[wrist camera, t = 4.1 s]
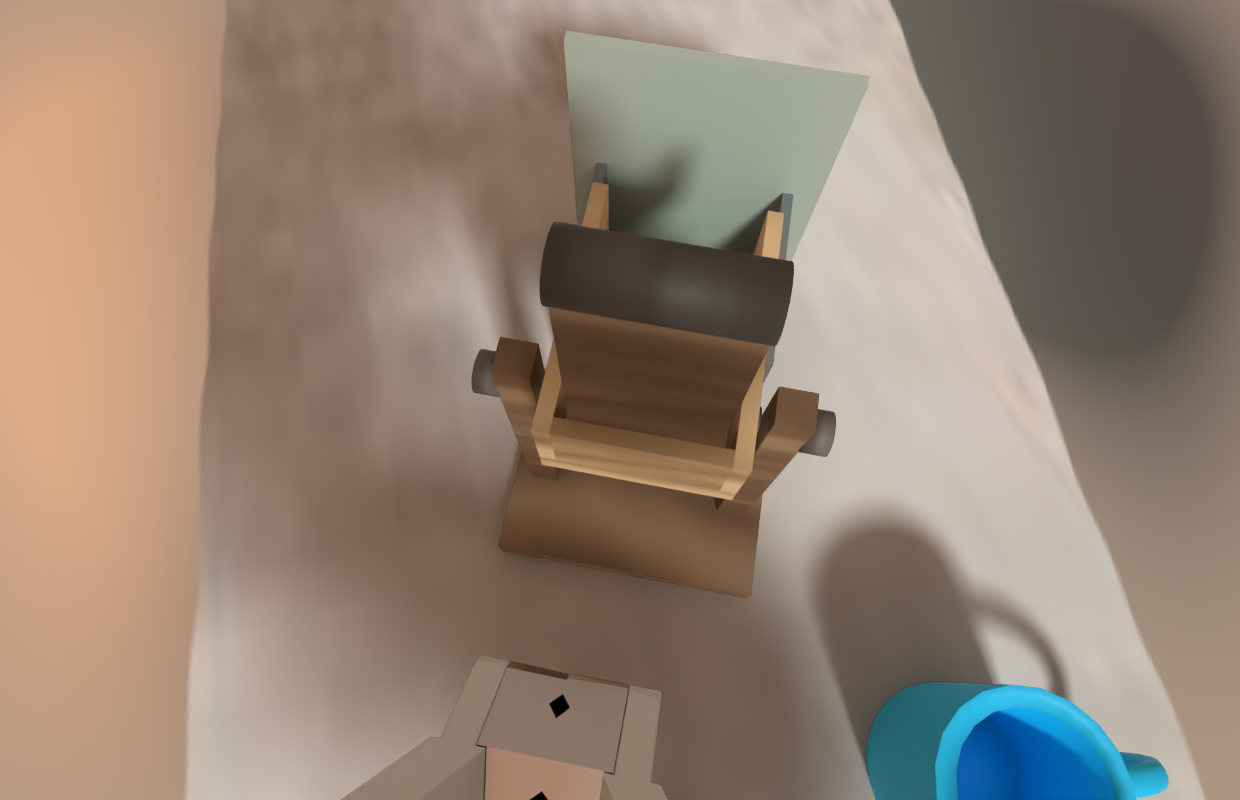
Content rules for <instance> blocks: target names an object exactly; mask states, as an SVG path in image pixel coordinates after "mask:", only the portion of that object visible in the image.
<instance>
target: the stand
mask: <svg viewBox="0 0 1240 800" xmlns="http://www.w3.org/2000/svg"><path fill="white" fill-rule="evenodd" d="M544 376H545V371H544V366H543V362H542V357H541V353H540V348H539V344H537V343H531V342H526V341H520V340H514V339H509V338H503V337H500V339H499V343H498V346H497V350H496V351H490V350H485V349H481V350H480V351H479V353H478V355H477V357H476V360H475V363H474V367H473V373H472V390H473V392H474V393H479V394H484V395H489V396H495V397H500V398H501V400H502V403H503V405H504V408H505V410H506V413H507V415H508V417H509V420H510V422H511V425H512V427H513V430H514V432H515V435H516V437H517V440H518V442H519V445H520V447H521V450H522V454H521V458H520V462H519V466H518V470H517V474H516V478H515V482H514V486H513V490H512V494H511V497H510V501H509V505H508V509H507V513H506V517H505V521H504V525H503V529H502V533H501V537H500V541H499V545H498V546H499V548H500V549H501V550H506V551H511V552H516V553H521V554H526V555H531V556H536V557H541V558H547V559H552V560H557V561H562V562H567V563H572V564H577V565H582V566H588V567H593V568H598V569H603V570H608V571H613V572H618V573H623V574H628V575H634V576H639V577H644V578H649V579H654V580H659V581H664V582H669V583H674V584H680V585H685V586H690V587H695V588H700V589H705V590H710V591H715V592H720V593H726V594H731V595H736V596H741V597H746V598H747V597H749V596H750V595H751V588H752V579H753V571H754V562H755V554H756V545H757V537H758V528H759V520H760V511H761V503H762V494H763V492H764V491H765V490H766V489H767V488H768V487H769V485H770V484H771V483H772V482H773V481H774V480H775V478H776V477H777V476H778V475H779V474H780V473H781V471H782V470H783V469H784V468H785V467H786V465H787V464H788V463H789V462H790V461H791V460H792V458H793V457H794V456H795V455H796V454H797V453H798V451H799V452H801V453H807V454H812V455H818V456H823V457H826V456H827V455H828V454H829V452H830V450H831V447H832V444H833V440H834V436H835V429H836V416H835V413H834V412H831V411H825V410H820V409H818V402H819V394H818V393H813V392H807V391H801V390H796V389H790V388H784V387H779V388H778V389H777V391H776V393H775V394H774V396H773V398H772V399H771V401H770V403H769V404H768V406H767V408H766V410H765V411H764V413H763V415H762V416H761V421H760V426H759V430H758V433H757V436H756V444H755V452H754V460H753V468H752V472H751V474H750V475H749V477H748V478H747V479H746V481H745V482H744V484H743V485H742V486H741V488H740V489H739V491H738V492H737V493H736V495H735V496H734V498H733V499H732V500H728V499H723V498H717V497H712V496H707V495H701V494H696V493H691V492H685V491H680V490H675V489H669V488H664V487H659V486H653V485H648V484H643V483H637V482H632V481H627V480H622V479H616V478H611V477H606V476H600V475H595V474H590V473H584V472H579V471H574V470H568V469H563V468H558V467H552V466H547V465H542V462H541V459H540V456H539V454H538V451H537V448H536V445H535V442H534V439H533V436H532V433H531V428H532V424H533V420H534V416H535V412H536V408H537V404H538V400H539V396H540V392H541V388H542V384H543V380H544Z"/></svg>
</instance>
